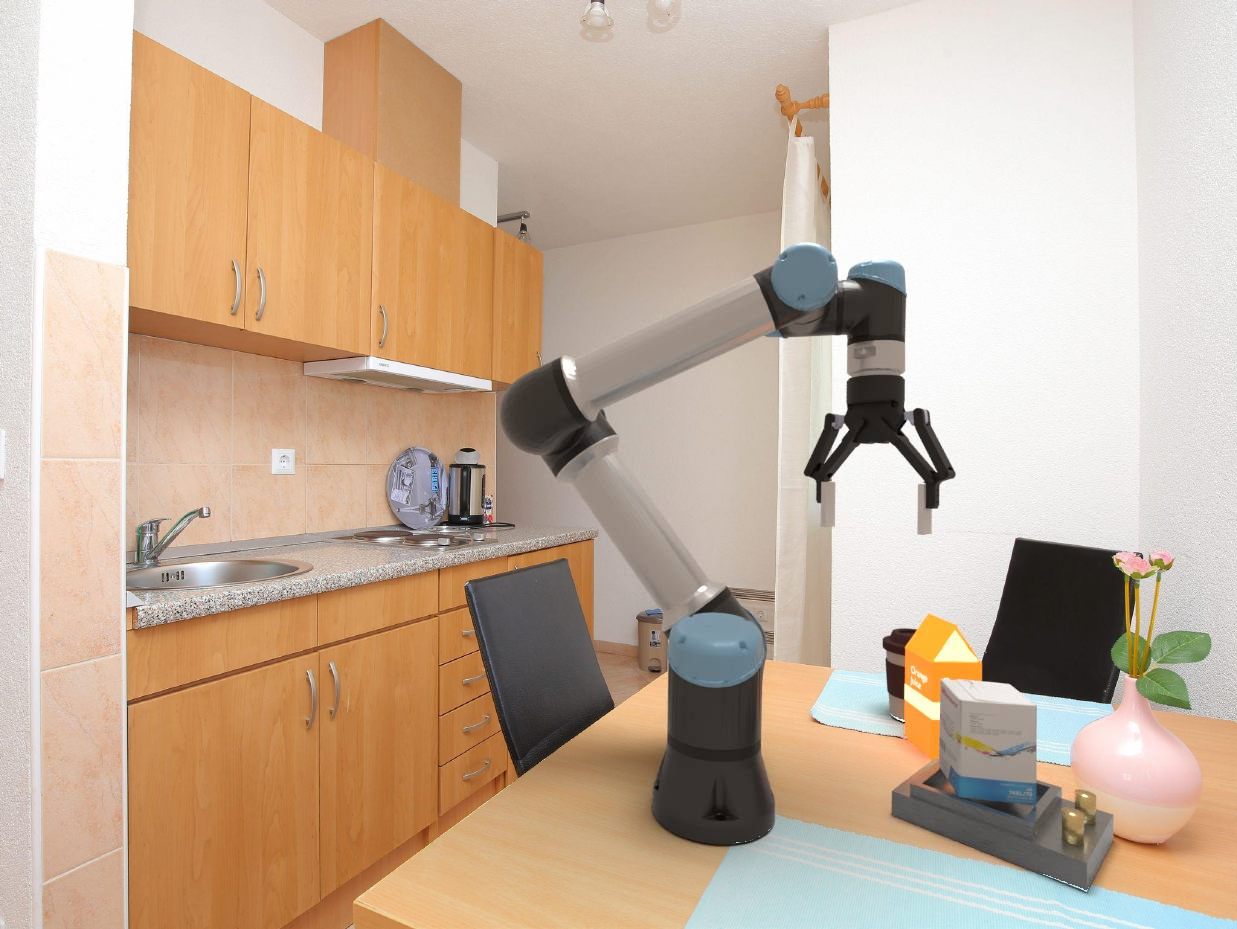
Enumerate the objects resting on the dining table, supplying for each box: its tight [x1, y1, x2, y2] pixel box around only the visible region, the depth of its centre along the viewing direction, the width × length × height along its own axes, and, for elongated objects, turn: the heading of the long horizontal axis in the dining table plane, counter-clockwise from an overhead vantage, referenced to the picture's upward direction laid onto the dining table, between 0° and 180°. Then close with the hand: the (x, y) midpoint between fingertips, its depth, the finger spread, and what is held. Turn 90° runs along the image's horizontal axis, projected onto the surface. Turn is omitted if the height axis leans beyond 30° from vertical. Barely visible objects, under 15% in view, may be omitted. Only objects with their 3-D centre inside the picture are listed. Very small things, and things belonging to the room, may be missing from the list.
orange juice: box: [903, 613, 983, 761], centre depth 101 cm, size 8×9×20 cm
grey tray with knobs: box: [891, 758, 1114, 890], centre depth 78 cm, size 20×14×6 cm
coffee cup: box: [882, 627, 918, 720], centre depth 113 cm, size 10×10×15 cm
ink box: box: [939, 679, 1038, 805], centre depth 79 cm, size 8×8×12 cm
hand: (873, 530), depth 89 cm, fingers open, 13 cm apart
